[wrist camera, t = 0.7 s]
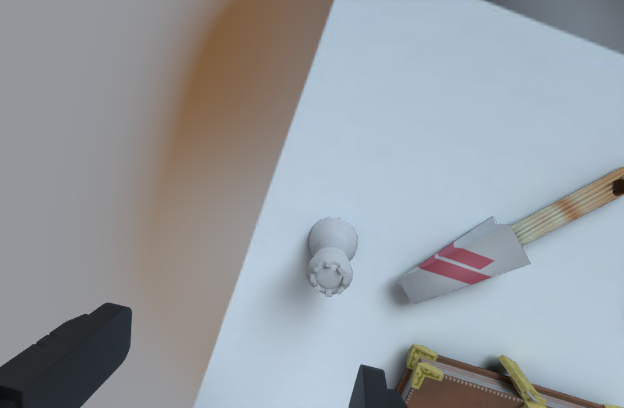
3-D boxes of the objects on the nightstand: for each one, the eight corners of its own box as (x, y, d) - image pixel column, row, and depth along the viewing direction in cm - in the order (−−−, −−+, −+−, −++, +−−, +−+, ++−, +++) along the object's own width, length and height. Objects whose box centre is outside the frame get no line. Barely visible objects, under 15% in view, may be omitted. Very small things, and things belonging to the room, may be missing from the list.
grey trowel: (397, 282, 26) (647, 153, 22) (391, 268, 28) (614, 151, 25) (419, 318, 26) (667, 198, 23) (411, 301, 29) (632, 192, 25)
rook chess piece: (367, 246, 29) (374, 291, 21) (326, 268, 30) (318, 319, 22) (341, 206, 28) (339, 237, 20) (300, 230, 29) (283, 269, 21)
